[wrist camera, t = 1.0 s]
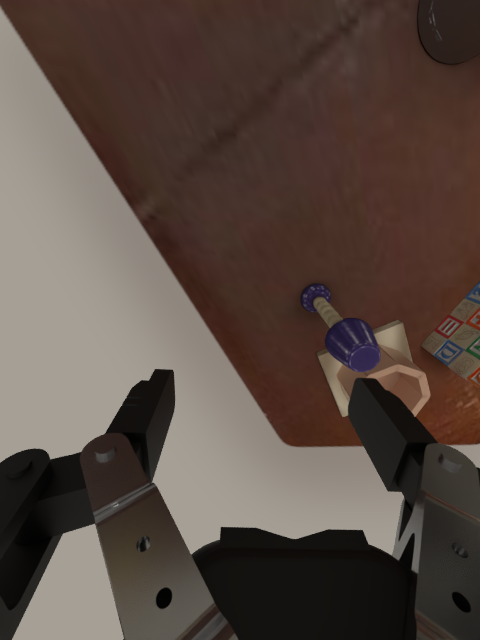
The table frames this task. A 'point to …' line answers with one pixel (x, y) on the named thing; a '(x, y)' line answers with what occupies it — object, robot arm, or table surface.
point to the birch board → (385, 336)
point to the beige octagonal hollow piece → (392, 378)
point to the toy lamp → (343, 332)
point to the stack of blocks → (460, 339)
